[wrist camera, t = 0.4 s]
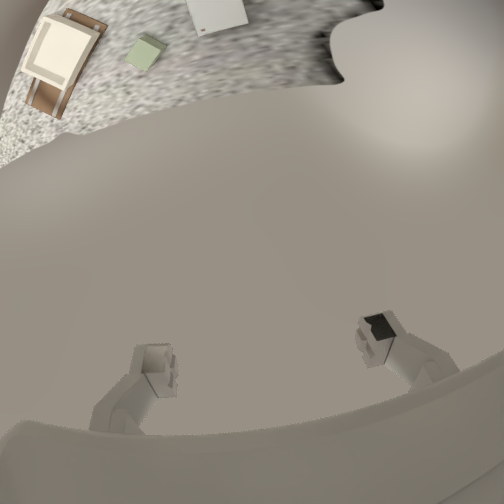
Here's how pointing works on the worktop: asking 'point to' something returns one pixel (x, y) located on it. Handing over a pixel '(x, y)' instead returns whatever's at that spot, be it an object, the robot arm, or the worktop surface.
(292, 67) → the worktop surface
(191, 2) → the supplement box
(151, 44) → the block
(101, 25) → the track
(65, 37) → the square white tray
